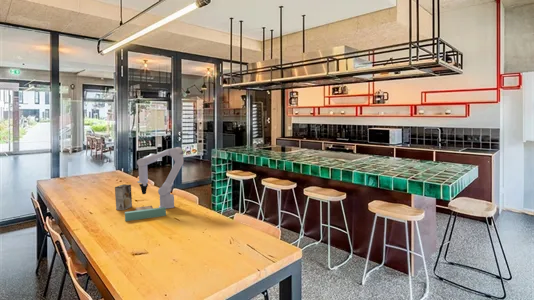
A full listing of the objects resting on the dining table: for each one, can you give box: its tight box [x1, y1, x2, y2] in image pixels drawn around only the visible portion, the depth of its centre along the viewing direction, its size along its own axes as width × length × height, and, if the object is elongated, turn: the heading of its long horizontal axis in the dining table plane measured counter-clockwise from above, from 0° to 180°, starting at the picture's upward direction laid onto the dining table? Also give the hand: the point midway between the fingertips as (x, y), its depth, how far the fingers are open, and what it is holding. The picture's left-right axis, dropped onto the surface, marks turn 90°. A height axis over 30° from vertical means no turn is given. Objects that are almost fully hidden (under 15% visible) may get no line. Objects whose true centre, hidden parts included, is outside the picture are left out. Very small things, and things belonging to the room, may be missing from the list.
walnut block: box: [135, 205, 154, 211], centre depth 201 cm, size 10×8×5 cm
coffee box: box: [114, 183, 133, 211], centre depth 215 cm, size 9×6×16 cm
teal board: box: [124, 207, 167, 222], centre depth 196 cm, size 24×3×5 cm, turn 118°
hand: (144, 193), depth 219 cm, fingers closed
